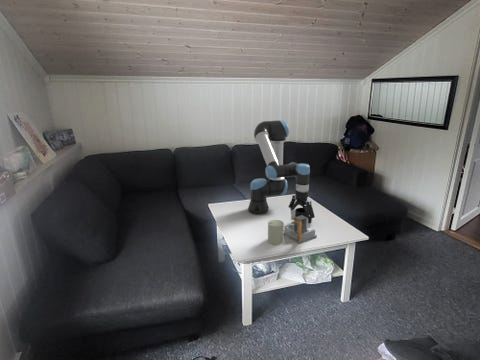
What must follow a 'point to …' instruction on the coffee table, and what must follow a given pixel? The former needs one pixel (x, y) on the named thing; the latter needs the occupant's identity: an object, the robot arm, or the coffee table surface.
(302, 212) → the mug
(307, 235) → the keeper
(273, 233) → the can
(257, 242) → the coffee table surface
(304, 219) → the dark gray box
